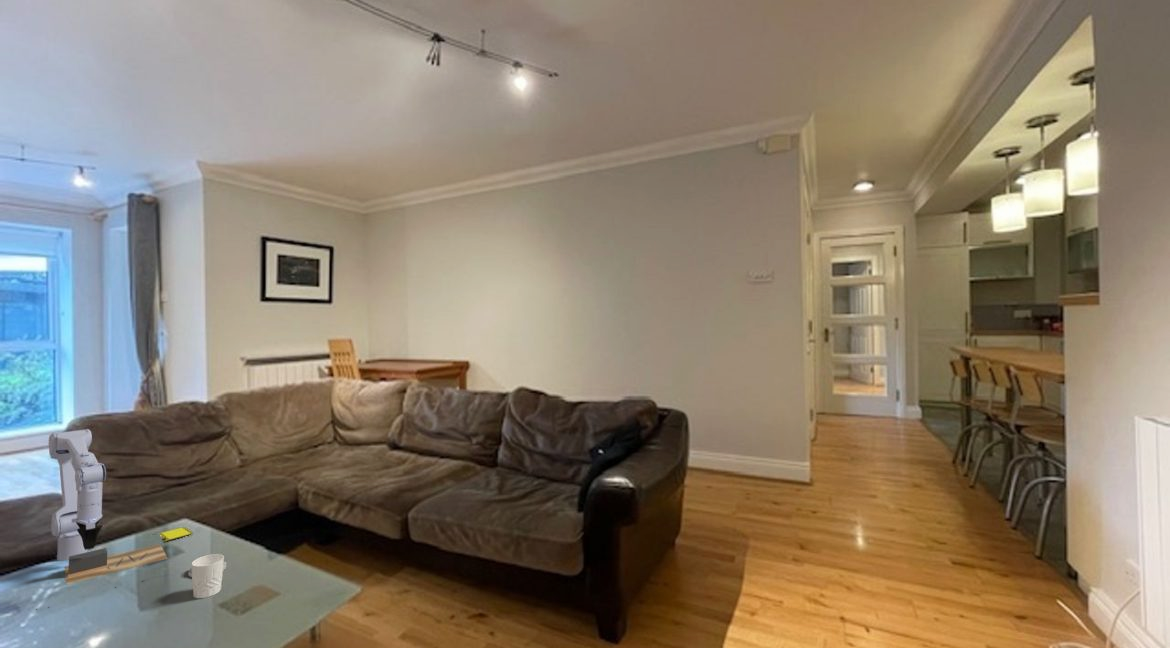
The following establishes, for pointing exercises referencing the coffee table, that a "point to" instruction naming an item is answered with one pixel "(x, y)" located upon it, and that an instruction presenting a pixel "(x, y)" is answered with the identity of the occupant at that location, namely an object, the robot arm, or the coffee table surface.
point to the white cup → (207, 575)
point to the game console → (174, 534)
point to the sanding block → (87, 562)
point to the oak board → (123, 562)
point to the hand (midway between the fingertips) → (88, 544)
